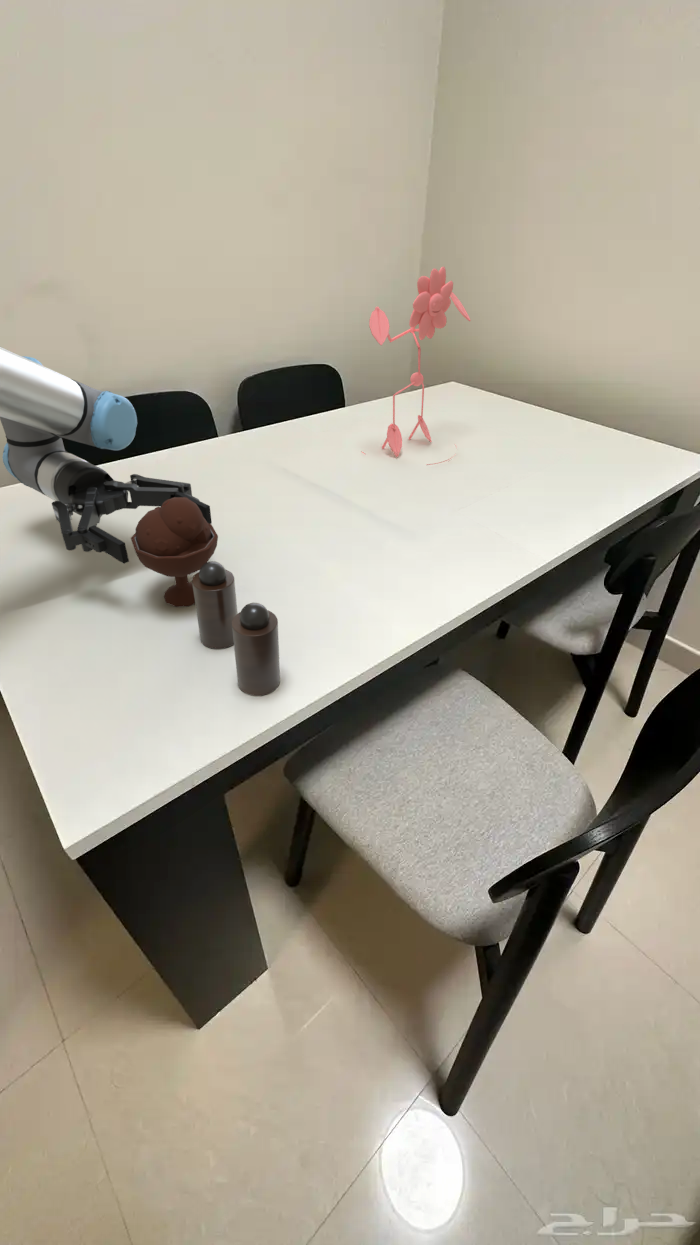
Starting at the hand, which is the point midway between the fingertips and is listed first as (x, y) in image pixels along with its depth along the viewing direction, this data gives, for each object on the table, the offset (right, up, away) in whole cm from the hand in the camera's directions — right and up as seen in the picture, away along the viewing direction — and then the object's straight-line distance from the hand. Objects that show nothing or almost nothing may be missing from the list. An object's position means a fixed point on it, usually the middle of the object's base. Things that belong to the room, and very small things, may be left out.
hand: (169, 533), depth 77 cm
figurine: (+39, +25, +51) cm, 69 cm away
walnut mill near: (+13, -19, -7) cm, 24 cm away
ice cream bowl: (0, -8, +6) cm, 10 cm away
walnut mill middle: (+7, -14, -1) cm, 15 cm away
